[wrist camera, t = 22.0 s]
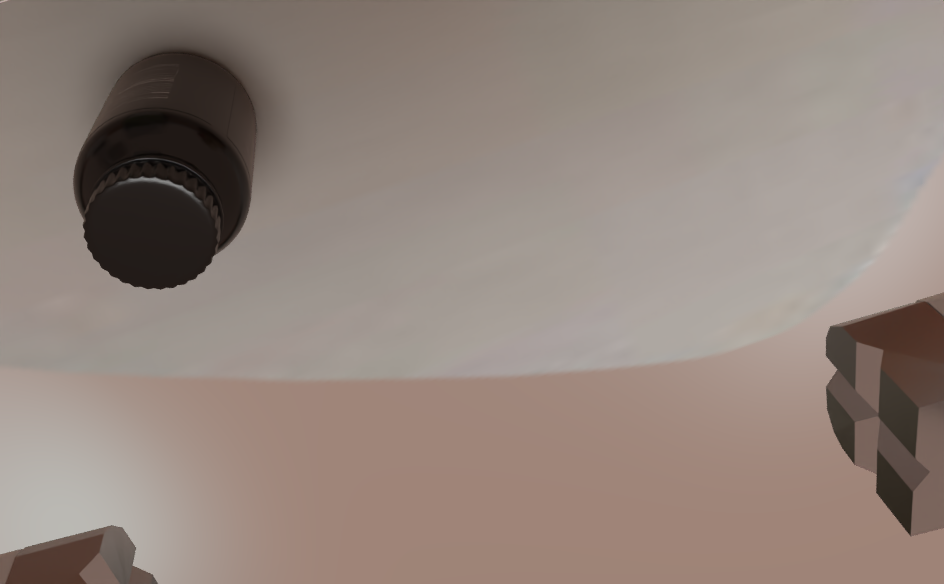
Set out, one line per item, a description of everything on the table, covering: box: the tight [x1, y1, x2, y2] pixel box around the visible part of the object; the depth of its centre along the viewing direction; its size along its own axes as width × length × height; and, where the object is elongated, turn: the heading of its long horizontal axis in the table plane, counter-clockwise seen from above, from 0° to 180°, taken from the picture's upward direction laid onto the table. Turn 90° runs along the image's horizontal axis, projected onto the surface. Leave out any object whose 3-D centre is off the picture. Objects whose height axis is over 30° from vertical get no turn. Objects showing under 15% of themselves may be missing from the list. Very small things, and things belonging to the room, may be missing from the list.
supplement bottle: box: [73, 53, 257, 290], centre depth 38 cm, size 7×7×12 cm
